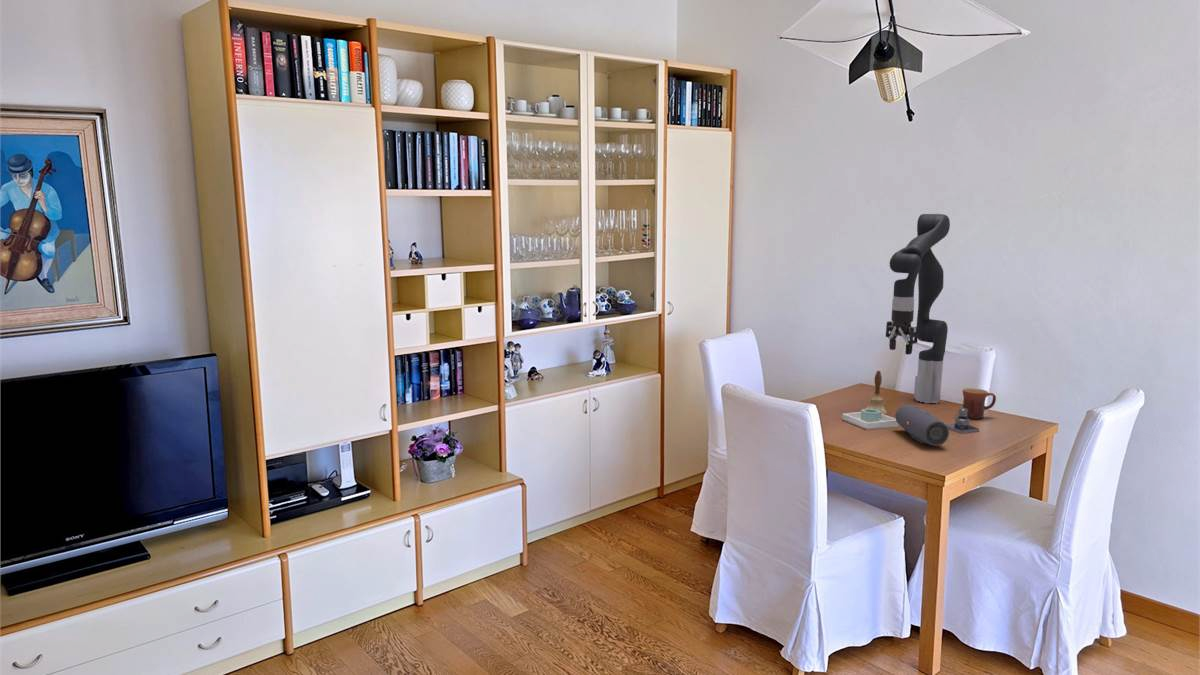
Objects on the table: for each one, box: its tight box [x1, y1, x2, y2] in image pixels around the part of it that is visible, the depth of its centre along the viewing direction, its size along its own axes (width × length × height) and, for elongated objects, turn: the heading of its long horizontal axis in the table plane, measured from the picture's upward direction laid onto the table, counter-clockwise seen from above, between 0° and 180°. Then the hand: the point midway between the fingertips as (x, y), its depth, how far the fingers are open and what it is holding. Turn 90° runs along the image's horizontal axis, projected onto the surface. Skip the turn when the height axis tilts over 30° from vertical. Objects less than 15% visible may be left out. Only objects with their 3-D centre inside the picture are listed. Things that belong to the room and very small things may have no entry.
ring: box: [860, 408, 882, 422], centre depth 301 cm, size 6×7×4 cm
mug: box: [962, 387, 997, 420], centre depth 310 cm, size 12×9×10 cm
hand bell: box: [865, 370, 888, 415], centre depth 316 cm, size 8×8×16 cm
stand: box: [945, 407, 980, 434], centre depth 294 cm, size 8×8×8 cm
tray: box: [841, 411, 900, 431], centre depth 301 cm, size 14×14×2 cm
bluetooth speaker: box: [894, 403, 950, 447], centre depth 281 cm, size 23×9×10 cm, turn 4°
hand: (900, 351), depth 306 cm, fingers open, 8 cm apart
